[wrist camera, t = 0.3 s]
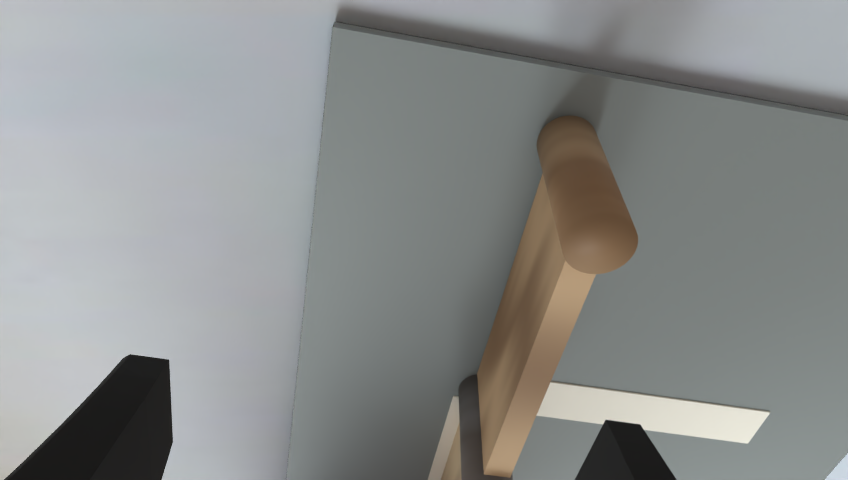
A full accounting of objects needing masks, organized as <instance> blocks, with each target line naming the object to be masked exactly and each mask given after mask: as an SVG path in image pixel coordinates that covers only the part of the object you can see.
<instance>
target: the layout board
mask: <svg viewBox="0 0 848 480" xmlns="http://www.w3.org/2000/svg"><path fill="white" fill-rule="evenodd" d="M562 116H578V117H581V118H583V119H585V120H587V121H588V122H589V123H590V124H591V125H592V126H593V127H594V129H595V131H596V134H597V136H598V139H599V141H600V143H601V146H602V148H603V151H604V153H605V156H606V158H607V160H608V163H609V165H610V168H611V170H612V173H613V175H614V177H615V180H616V182H617V185H618V187H619V190H620V192H621V194H622V197H623V199H624V202H625V204H626V207H627V209H628V211H629V214H630V216H631V219H632V221H633V224H634V226H635V229H636V231H637V234H638V245H637V249H636V251H635V253H634V255H633V256H632V257H631V259H630V260H629V261H628V262H627V263H625V264H624V265H623V266H621V267H620V268H618V269H616V270H613V271H611V272H608V273H603V274H596V276H595V278H594V280H593V283H592V285H591V287H590V290H589V292H588V295H587V297H586V299H585V302H584V304H583V306H582V309H581V311H580V313H579V316H578V318H577V321H576V323H575V325H574V328H573V330H572V332H571V335H570V337H569V340H568V342H567V344H566V347H565V349H564V351H563V354H562V356H561V358H560V361H559V363H558V366H557V368H556V370H555V373H554V375H553V377H552V380H551V382H550V385H549V387H548V389H547V392H546V394H545V396H544V399H543V401H542V403H541V406H540V408H539V411H538V413H537V415H536V418H535V420H534V422H533V425H532V427H531V430H530V432H529V434H528V437H527V439H526V441H525V444H524V446H523V448H522V451H521V453H520V456H519V458H518V460H517V463H516V465H515V467H514V470H513V472H512V475H513V480H575V478H576V476H577V474H578V472H579V470H580V468H581V466H582V465H583V463H584V461H585V459H586V457H587V455H588V453H589V451H590V449H591V447H592V445H593V443H594V441H595V439H596V437H597V435H598V433H599V431H600V430H601V428H602V426H603V424H604V422H605V420H612V421H619V422H627V423H634V424H640V425H641V426H642V428H643V429H644V431H645V432H646V434H647V435H648V437H649V438H650V440H651V441H652V443H653V444H654V446H655V447H656V449H657V450H658V452H659V453H660V455H661V457H662V458H663V460H664V461H665V463H666V464H667V466H668V467H669V469H670V470H671V472H672V473H673V475H674V476H675V478H676V479H677V480H824V479H825V478H826V477H827V476H828V475H829V474H830V473H831V471H832V470H833V469H834V468H835V467H836V466H837V465H838V463H839V462H840V461H841V460H842V459H843V458H844V457H845V455H846V454H847V453H848V115H842V114H837V113H831V112H826V111H820V110H815V109H809V108H804V107H798V106H793V105H787V104H782V103H776V102H771V101H766V100H760V99H755V98H749V97H744V96H738V95H733V94H727V93H722V92H716V91H711V90H705V89H700V88H694V87H689V86H683V85H678V84H673V83H667V82H662V81H656V80H651V79H645V78H640V77H634V76H629V75H623V74H618V73H612V72H607V71H601V70H596V69H590V68H585V67H579V66H574V65H569V64H563V63H558V62H552V61H547V60H541V59H536V58H530V57H525V56H519V55H514V54H508V53H503V52H497V51H492V50H486V49H481V48H475V47H470V46H465V45H459V44H454V43H448V42H443V41H437V40H432V39H426V38H421V37H415V36H410V35H404V34H399V33H393V32H388V31H382V30H377V29H371V28H366V27H361V26H355V25H350V24H344V23H339V22H334V25H333V28H332V37H331V47H330V57H329V67H328V76H327V86H326V96H325V106H324V115H323V125H322V135H321V145H320V154H319V164H318V174H317V184H316V193H315V203H314V213H313V223H312V232H311V242H310V252H309V262H308V271H307V281H306V291H305V301H304V310H303V320H302V330H301V339H300V349H299V359H298V369H297V378H296V388H295V398H294V408H293V417H292V427H291V437H290V447H289V456H288V466H287V476H286V480H441V477H442V474H443V471H444V468H445V465H446V462H447V459H448V456H449V453H450V450H451V446H452V443H453V440H454V437H455V434H456V431H457V428H458V425H459V393H458V388H459V385H460V383H461V382H462V381H463V380H464V379H466V378H467V377H469V376H472V375H476V374H477V372H478V369H479V366H480V363H481V360H482V357H483V354H484V351H485V348H486V345H487V342H488V339H489V336H490V333H491V330H492V327H493V324H494V320H495V317H496V314H497V311H498V308H499V305H500V302H501V299H502V296H503V293H504V290H505V287H506V284H507V281H508V278H509V275H510V271H511V268H512V265H513V262H514V259H515V256H516V253H517V250H518V247H519V244H520V241H521V238H522V235H523V232H524V229H525V226H526V222H527V219H528V216H529V213H530V210H531V207H532V204H533V201H534V198H535V195H536V192H537V189H538V186H539V183H540V180H541V177H542V174H543V172H542V168H541V164H540V160H539V156H538V152H537V139H538V136H539V134H540V132H541V130H542V129H543V128H544V127H545V126H546V125H547V124H548V123H549V122H551V121H552V120H554V119H556V118H559V117H562Z"/></svg>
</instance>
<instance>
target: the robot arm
mask: <svg viewBox="0 0 848 480" xmlns="http://www.w3.org/2000/svg"><path fill="white" fill-rule="evenodd" d="M172 443H173V437H172V414H171V392H170V369H169V360H167V359H160V358H152V357H145V356H138V355H131V354H130V355H128V356H126V357H125V358H123V359H122V360H121V361H120V362H119V364H118V365H117V366H116V367H115V368H114V369H113V370H112V371H111V373H110V374H109V375H108V376H107V377H106V378H105V379H104V380H103V381H102V382H101V384H100V385H99V386H98V387H97V388H96V389H95V390H94V391H93V392H92V393H91V394H90V395H89V396H88V397H87V399H86V400H85V401H84V402H83V403H82V404H81V405H80V406H79V407H78V408H77V409H76V410H75V411H74V412H73V413H72V414H71V415H70V416H69V417H68V418H67V419H66V420H65V421H64V422H63V423H62V424H61V425H60V426H59V427H58V428H57V429H56V430H55V431H54V432H53V433H52V434H51V435H50V436H49V437H48V438H47V439H46V440H45V441H44V442H43V443H42V444H41V445H40V446H39V447H38V448H37V449H36V450H35V451H34V452H33V453H32V454H31V455H30V456H29V457H28V458H27V459H26V460H25V461H24V462H23V463H22V464H20V465H19V466H18V467H17V468H16V469H15V470H14V471H13V472H12V473H11V474H10V475H9V476H8V477H6V478H5V479H4V480H161V479H162V476H163V473H164V469H165V466H166V463H167V459H168V456H169V453H170V449H171V446H172ZM575 480H677V479H676V478H675V476H674V475H673V473H672V472H671V470H670V469H669V467H668V466H667V464H666V463H665V461H664V460H663V458H662V457H661V455H660V453H659V452H658V450H657V449H656V447H655V446H654V444H653V443H652V441H651V440H650V438H649V437H648V435H647V434H646V432H645V431H644V429H643V428H642V426H641V425H640V424H634V423H627V422H619V421H612V420H605V422H604V424H603V426H602V428H601V430H600V431H599V433H598V435H597V437H596V439H595V441H594V443H593V445H592V447H591V449H590V451H589V453H588V455H587V457H586V459H585V461H584V463H583V465H582V466H581V468H580V470H579V472H578V474H577V476H576V478H575Z"/></svg>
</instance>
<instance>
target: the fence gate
mask: <svg viewBox="0 0 848 480" xmlns="http://www.w3.org/2000/svg"><path fill="white" fill-rule="evenodd" d="M537 152H538V156H539V160H540V164H541V168H542V172H543V174H542V177H541V180H540V183H539V186H538V189H537V192H536V195H535V198H534V201H533V204H532V207H531V210H530V213H529V216H528V219H527V222H526V226H525V229H524V232H523V235H522V238H521V241H520V244H519V247H518V250H517V253H516V256H515V259H514V262H513V265H512V268H511V271H510V275H509V278H508V281H507V284H506V287H505V290H504V293H503V296H502V299H501V302H500V305H499V308H498V311H497V314H496V317H495V320H494V324H493V327H492V330H491V333H490V336H489V339H488V342H487V345H486V348H485V351H484V354H483V357H482V360H481V363H480V366H479V369H478V372H477V377H478V393H479V408H480V424H481V439H482V455H483V470H484V474H485V475H493V476H501V477H509V478H510V477H511V474H512V472H513V470H514V467H515V465H516V463H517V460H518V458H519V456H520V453H521V451H522V448H523V446H524V444H525V441H526V439H527V437H528V434H529V432H530V430H531V427H532V425H533V422H534V420H535V418H536V415H537V413H538V411H539V408H540V406H541V403H542V401H543V399H544V396H545V394H546V392H547V389H548V387H549V385H550V382H551V380H552V377H553V375H554V373H555V370H556V368H557V366H558V363H559V361H560V358H561V356H562V354H563V351H564V349H565V347H566V344H567V342H568V340H569V337H570V335H571V332H572V330H573V328H574V325H575V323H576V321H577V318H578V316H579V313H580V311H581V309H582V306H583V304H584V302H585V299H586V297H587V295H588V292H589V290H590V287H591V285H592V283H593V280H594V278H595V276H596V274H603V273H608V272H611V271H613V270H616V269H618V268H620V267H621V266H623V265H624V264H625V263H627V262H628V261H629V260H630V259H631V257H632V256H633V255H634V253H635V251H636V249H637V245H638V234H637V231H636V229H635V226H634V224H633V221H632V219H631V216H630V214H629V211H628V209H627V207H626V204H625V202H624V199H623V197H622V194H621V192H620V190H619V187H618V185H617V182H616V180H615V177H614V175H613V173H612V170H611V168H610V165H609V163H608V160H607V158H606V156H605V153H604V151H603V148H602V146H601V143H600V141H599V139H598V136H597V134H596V131H595V129H594V127H593V126H592V125H591V124H590V123H589V122H588V121H587V120H585V119H583V118H581V117H578V116H562V117H559V118H556V119H554V120H552V121H551V122H549V123H548V124H547V125H546V126H545V127H544V128H543V129H542V130H541V132H540V134H539V136H538V139H537Z"/></svg>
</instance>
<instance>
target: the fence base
mask: <svg viewBox="0 0 848 480" xmlns="http://www.w3.org/2000/svg"><path fill="white" fill-rule="evenodd" d="M458 393H459V425H458V428H457V431H456V434H455V437H454V440H453V443H452V446H451V450H450V453H449V456H448V459H447V462H446V465H445V468H444V471H443V474H442V477H441V480H513V475H512V474H511V477H510V478H509V477H501V476H493V475H485V474H484V470H483V455H482V439H481V424H480V408H479V393H478V377H477V374H476V375H472V376H469V377H467V378H466V379H464V380H463V381H462V382H461V383H460V385H459V388H458Z"/></svg>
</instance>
